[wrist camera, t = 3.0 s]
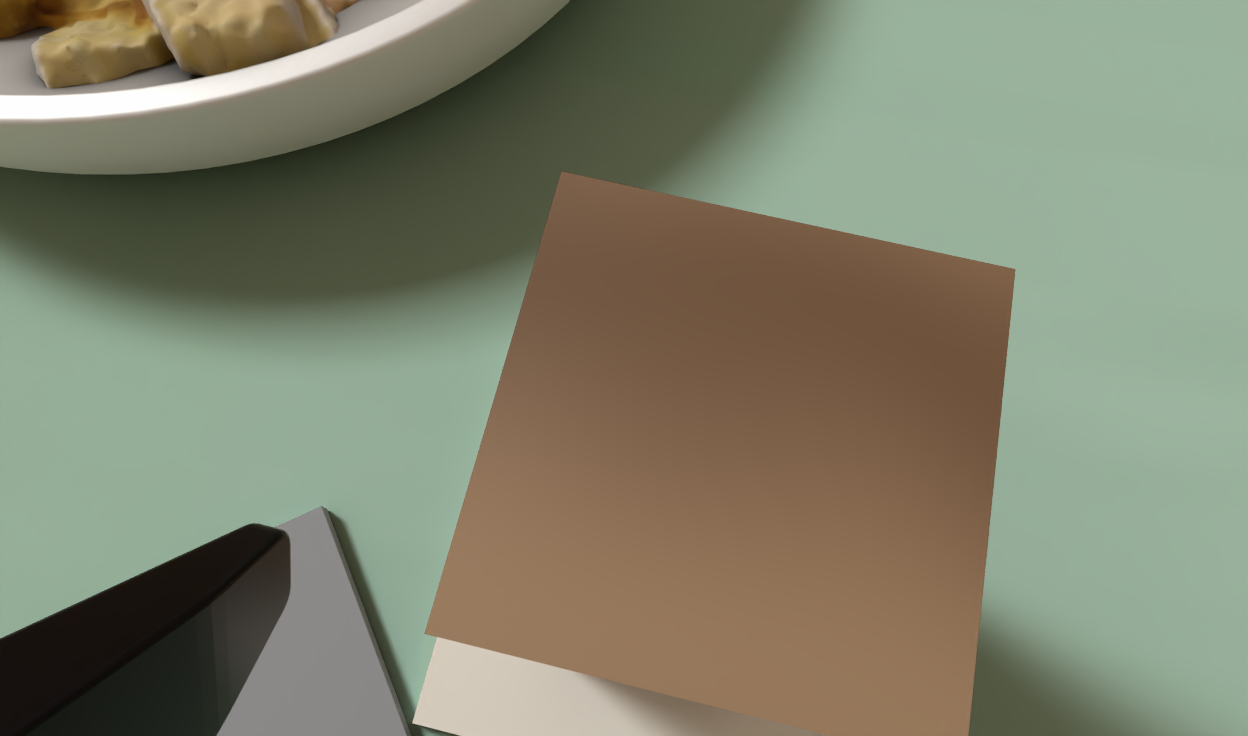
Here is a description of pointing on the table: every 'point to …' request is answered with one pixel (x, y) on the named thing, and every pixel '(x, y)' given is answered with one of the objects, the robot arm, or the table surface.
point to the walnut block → (739, 466)
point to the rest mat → (318, 653)
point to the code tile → (561, 702)
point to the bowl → (229, 74)
